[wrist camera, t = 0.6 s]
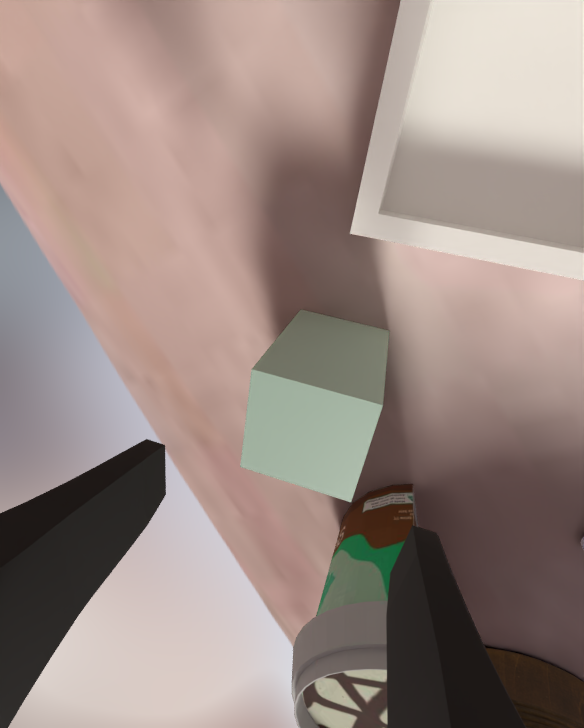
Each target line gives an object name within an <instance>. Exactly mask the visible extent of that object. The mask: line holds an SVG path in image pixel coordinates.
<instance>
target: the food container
mask: <svg viewBox="0 0 584 728" xmlns="http://www.w3.org/2000/svg"><path fill="white" fill-rule="evenodd" d="M412 525H413V526H416V527H418V520H417V513H416V505H415V497H414V489H413V484H403V485H391V486H388V487H384V488H381V489H377V490H374V491H370V492H368V493H367V494H365V495H364V496H362V497H361V498H359V499H358V500H356V501H355V502H353V503H352V505H351V506H350V508H349V509H348V511H347V513H346V514H345V516H344V517H343V521H342V524H341V528H340V532H339V535H338V539H337V543H336V546H335V550H334V553H333V557H332V561H331V564H330V568H329V572H328V575H327V579H326V583H325V586H324V590H323V594H322V597H321V601H320V604H319V608H318V612H317V615H316V617H315V618H313V619H312V620H311V621H310V622H308V623H307V624H306V625H305V626H304V627H303V628H302V630H301V631H300V633H299V634H298V635H297V637H296V641H295V644H294V647H293V669H292V670H293V671H292V697H293V701H294V715H295V719H296V722H297V726H298V727H299V728H387V635H386V614H387V602H388V591H389V581H390V572H391V570H392V568H393V566H394V564H395V562H396V559H397V557H398V555H399V553H400V551H401V549H402V546H403V544H404V542H405V540H406V538H407V536H408V533H409V531H410V529H411V527H412Z"/></svg>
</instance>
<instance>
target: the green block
mask: <svg viewBox="0 0 584 728" xmlns="http://www.w3.org/2000/svg"><path fill="white" fill-rule="evenodd" d="M388 342H389V330H385V329H381V328H376V327H372V326H368V325H364V324H360V323H356V322H352V321H347V320H343V319H339V318H335V317H331V316H327V315H322V314H318V313H314V312H310V311H306V310H302V309H301V310H300V311H299V312H298V313H297V315H296V316H295V317H294V318H293V320H292V321H291V322H290V323H289V324H288V326H287V327H286V328H285V329H284V330H283V332H282V333H281V334H280V335H279V337H278V338H277V339H276V340H275V341H274V343H273V344H272V345H271V346H270V348H269V349H268V350H267V351H266V352H265V354H264V355H263V356H262V357H261V358H260V360H259V361H258V362H257V363H256V365H255V366H254V367H253V368H252V371H251V380H250V388H249V397H248V405H247V414H246V422H245V431H244V439H243V448H242V457H241V465H240V467H242V468H245V469H249V470H252V471H255V472H258V473H261V474H264V475H267V476H270V477H273V478H276V479H280V480H283V481H286V482H289V483H292V484H295V485H298V486H301V487H304V488H307V489H311V490H314V491H317V492H320V493H323V494H326V495H329V496H332V497H335V498H338V499H342V500H345V501H348V502H351V501H352V498H353V495H354V492H355V489H356V486H357V483H358V480H359V477H360V474H361V471H362V468H363V465H364V462H365V459H366V456H367V453H368V450H369V447H370V443H371V440H372V437H373V434H374V431H375V428H376V425H377V422H378V419H379V416H380V413H381V410H382V407H383V400H384V389H385V377H386V365H387V353H388Z"/></svg>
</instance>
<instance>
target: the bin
mask: <svg viewBox="0 0 584 728" xmlns="http://www.w3.org/2000/svg"><path fill="white" fill-rule="evenodd" d="M350 234H354V235H359V236H364V237H369V238H374V239H379V240H384V241H389V242H394V243H399V244H404V245H409V246H414V247H419V248H424V249H429V250H434V251H439V252H444V253H449V254H454V255H459V256H464V257H469V258H474V259H479V260H484V261H489V262H494V263H499V264H504V265H509V266H514V267H518V268H523V269H528V270H533V271H538V272H543V273H548V274H553V275H558V276H563V277H568V278H573V279H578V280H583V281H584V0H401V2H400V6H399V11H398V15H397V20H396V25H395V29H394V34H393V38H392V43H391V47H390V52H389V57H388V61H387V66H386V70H385V75H384V79H383V84H382V89H381V93H380V98H379V102H378V107H377V112H376V116H375V121H374V125H373V130H372V134H371V139H370V144H369V148H368V153H367V157H366V162H365V166H364V171H363V176H362V180H361V185H360V189H359V194H358V198H357V203H356V208H355V212H354V217H353V221H352V226H351V230H350Z"/></svg>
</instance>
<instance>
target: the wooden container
mask: <svg viewBox="0 0 584 728" xmlns="http://www.w3.org/2000/svg"><path fill="white" fill-rule="evenodd" d="M486 650H487V652H488V655H489V657H490V659H491V661H492V663H493V665H494V667H495V669H496V671H497V673H498V675H499V677H500V679H501V681H502V683H503V685H504V687H505V689H506V691H507V693H508V694H509V696H510V698H511V700H512V702H513V704H514V706H515V708H516V710H517V712H518V713H519V715H520V717H521V719H522V721H523V723H524V724H525V726H526V728H584V682H582V681H581V680H579V679H578V678H577V677H575V676H573V675H571V674H570V673H568V672H566V671H564V670H562V669H560V668H558V667H555V666H553V665H551V664H548V663H546V662H543V661H540V660H538V659H535V658H532V657H529V656H525V655H522V654H518V653H514V652H510V651H505V650H499V649H493V648H486Z"/></svg>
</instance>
